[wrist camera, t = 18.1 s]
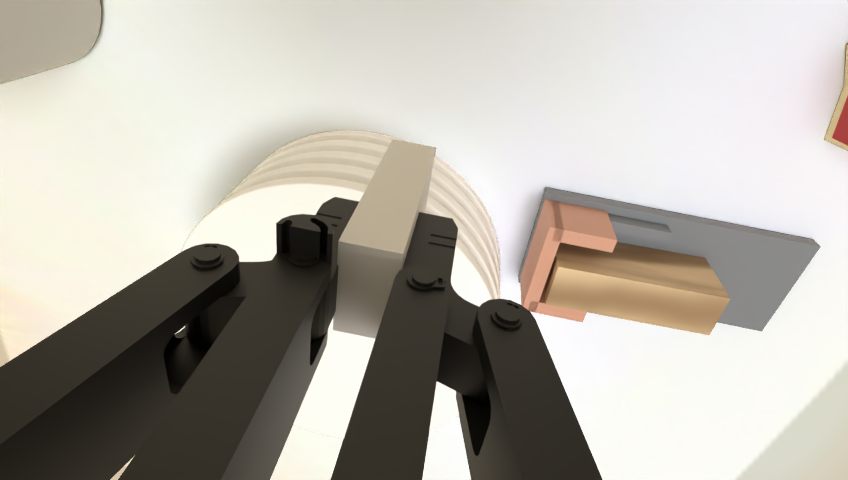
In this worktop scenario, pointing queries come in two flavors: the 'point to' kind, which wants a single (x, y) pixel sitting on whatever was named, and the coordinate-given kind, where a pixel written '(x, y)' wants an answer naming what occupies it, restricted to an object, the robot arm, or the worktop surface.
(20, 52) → the cylinder vase
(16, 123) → the worktop surface
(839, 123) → the milk carton
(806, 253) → the rail
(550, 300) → the oak slat
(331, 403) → the plate stack
